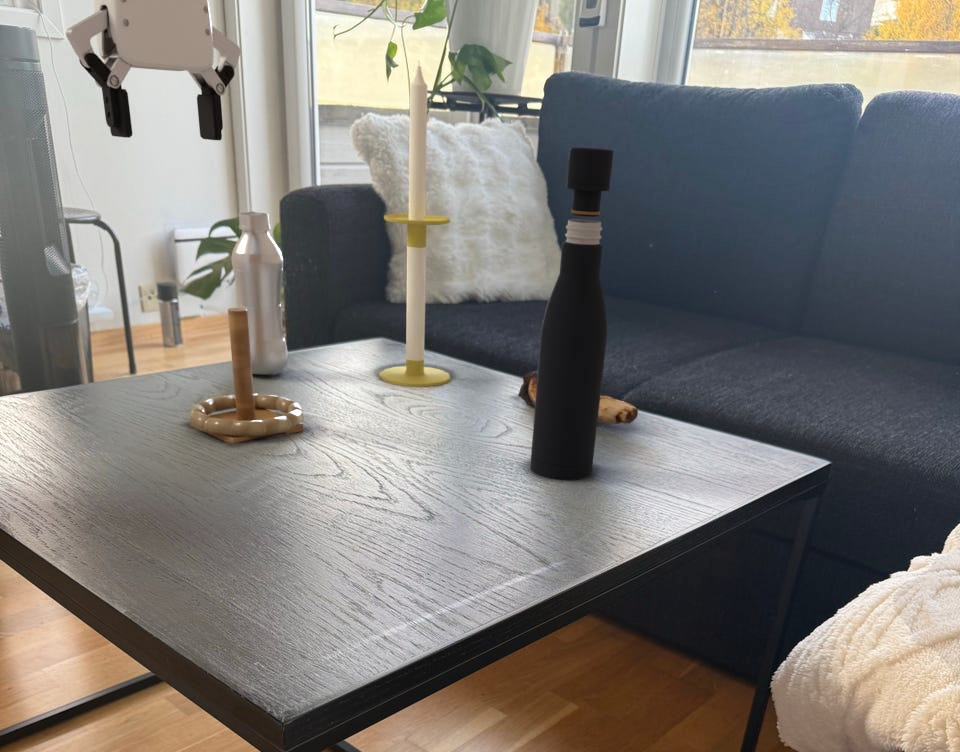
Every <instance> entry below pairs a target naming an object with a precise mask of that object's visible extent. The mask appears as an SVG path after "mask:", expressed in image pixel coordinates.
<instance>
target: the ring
mask: <svg viewBox="0 0 960 752" xmlns="http://www.w3.org/2000/svg"><path fill="white" fill-rule="evenodd" d="M254 405H255V408H263V409H267V410H269V411H278V412H281V413H283V415H281V416H280V417H275V418H270V419H265V420H248V421H233V420H225V419H218V418H212V417H210V416H209V415H212V414H213V413H216V412H222V411H228V410H233V409H234V410H235V409H236V400H235V393H231V394H225V395H219V396H213V397H208V398H206V399H204V400H201V401H200V402H197V403H194V404H193V405H192V406H191V407H190V410H189V411H190V412H189V422H190V421H191V423H192V424H193V425H194V426H196V427H198V428H201V429H203V430H205V431H207V432H209V433H215V434H222V435H229V436H263V435H268V434H273V433H278V432H283V431H287V430H290V429H291V428H293V427H294V426H296V425H298V424H299V423H301V424H302V422H303V420H304V417H305V415H304V412H303V409H302V405H301V404H300V403H298V402H296V401H293V400H292V399H289V398H286V397H283V396H278V395H272V394H271V395H270V394H265V393H264V394H263V393H254Z"/></svg>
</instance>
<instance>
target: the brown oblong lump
mask: <svg viewBox="0 0 960 752" xmlns="http://www.w3.org/2000/svg"><path fill="white" fill-rule="evenodd" d="M537 374H538V370H536V371H530V372H528V373H527V374H525V375H522V382H523V383H522V384H521V385H520V387H519V391H518V394H517V396H518V397H519V398H521V400H523V401H524V403H525V404H526V406H530V407H535V400H536V387H537ZM638 413H639V411H638V408H637V407H636V406H634V405H633V404H631V403H628V402H625V401H622V400H619V399H617V398H614V397H612V396H609V395H602V394H601V395H600V404H599V412H598V421H597V424H598V423H599V424H606V425H607V424H608V425H620V424H622V423H623V424H625V425H627V424H631V423H633V422H634V421H635V420H636V419H637V418H638Z"/></svg>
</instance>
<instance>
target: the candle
mask: <svg viewBox="0 0 960 752" xmlns="http://www.w3.org/2000/svg"><path fill="white" fill-rule="evenodd" d="M417 63H418V65H416V70H415V75H414V78H413V80H412V82H411V83H410V84H409V137H408V138H409V142H408V143H409V144H408V145H409V146H408V148H409V149H408V150H409V153H408V157H409V158H408V213H389V214H385V215H384V214H383V219H384V221H387V222H389V223H394V224H404V225H406V319H405V320H406V323H405V325H406V327H405V328H406V329H405V330H406V331H405V336H406V337H405V342H406V343H405V365H404V366H393V367H389V368H385V369H383V370H382V371H380V372H379V374H378V376H379V379H380V380H381V381H384V383H388V384H392V385H396V386H405V387H435V386H440V385H444V384H447V383H449V382H450V380H451V379H452V378H451V375H450V373H448V372H446V371H444V370H443V369H439V368H434V367H428V366H425V339H426V337H425V336H426V335H425V334H426V333H425V332H426V330H425V329H426V327H425V326H426V278H427V277H426V276H427V275H426V273H427V226H439V225H446V224H449V223H450V222H451V218H449V217H447V216H441V215H435V214H426V193H427V192H426V191H427V186H426V185H427V139H428V138H427V137H428V136H427V133H428V132H427V130H428V129H427V128H428V84H427V83H426V82H425V79H424V76H423V72H422V67H421V66H420V60H417Z"/></svg>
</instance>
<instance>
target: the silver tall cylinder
mask: <svg viewBox="0 0 960 752" xmlns="http://www.w3.org/2000/svg"><path fill="white" fill-rule="evenodd" d="M238 220H239V225H238V229H239V230H241V235H240V237H239V238H238V239H237V241H236V243H235V245H234V247H233V249H232V253H231V258H230V260H231V266H232V271H233V277H234V281H235V287H236V293H237V300H238V308H245V309H247V312H248V325H249V339H250V352H251V365H252V375H253V374H255V375H259V376H268V375H274V374H279V373H282V372H284V371H285V369H286V367H287V366H288V359H289V351H288V346H287V342H286V338H285V334H284V324H283V318H282V304H281V302H282V285H283V284H282V283H283V273H284V258H283V253H282V251H281V249H280V248H279V246H278V245H277V243H276V242H275V240H274V239H273V237H272V236H271V235H270V232H269V231H271V230H272V227H271V225H270V215H269V213H266V212H255V211H254V212H252V211H251V212H249V211H248V212H247V211H246V212H244V211H243V212H239V213H238Z"/></svg>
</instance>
